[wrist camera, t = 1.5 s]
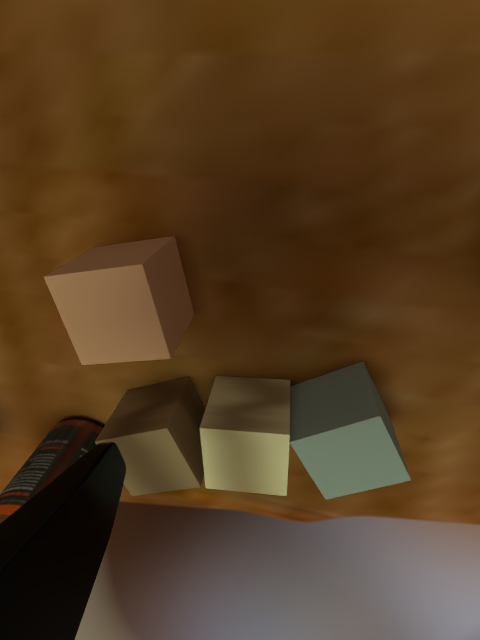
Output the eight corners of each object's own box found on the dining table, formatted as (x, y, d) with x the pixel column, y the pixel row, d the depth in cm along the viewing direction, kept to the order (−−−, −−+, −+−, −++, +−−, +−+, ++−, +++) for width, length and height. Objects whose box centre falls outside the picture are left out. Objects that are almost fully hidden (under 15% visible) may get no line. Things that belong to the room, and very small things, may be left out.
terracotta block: (175, 235, 20) (142, 264, 16) (194, 314, 22) (170, 358, 18) (95, 246, 21) (43, 276, 17) (121, 321, 23) (81, 365, 19)
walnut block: (189, 375, 25) (167, 428, 20) (215, 428, 27) (200, 486, 22) (127, 389, 26) (94, 441, 22) (157, 439, 28) (132, 495, 24)
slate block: (362, 360, 22) (380, 415, 18) (389, 417, 24) (411, 480, 20) (290, 385, 24) (289, 442, 20) (320, 437, 26) (325, 499, 21)
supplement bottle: (40, 437, 30) (-87, 592, 20) (77, 402, 27) (-46, 558, 17) (98, 478, 31) (7, 640, 21) (138, 448, 29) (56, 616, 19)
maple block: (290, 379, 24) (289, 434, 19) (287, 434, 26) (286, 495, 22) (216, 374, 24) (199, 428, 20) (220, 429, 27) (205, 488, 22)
